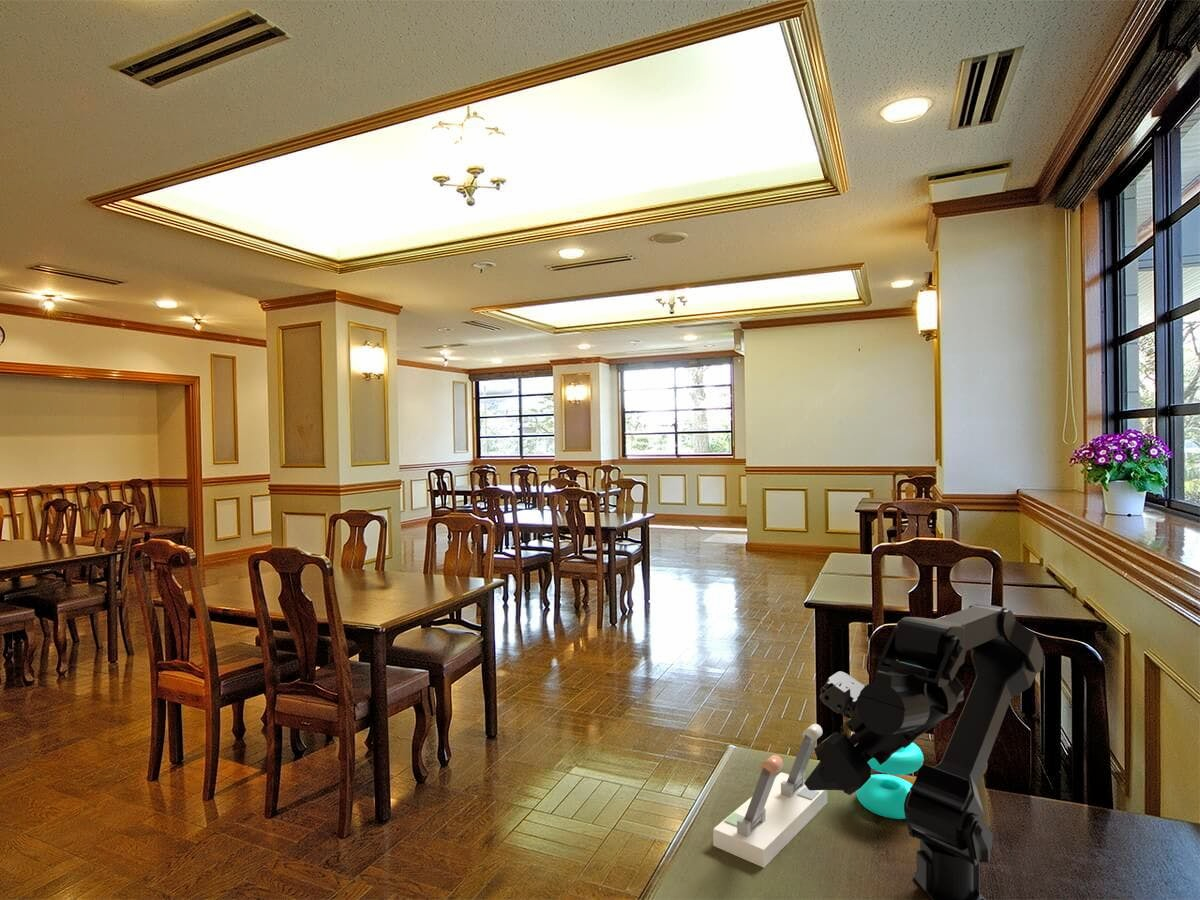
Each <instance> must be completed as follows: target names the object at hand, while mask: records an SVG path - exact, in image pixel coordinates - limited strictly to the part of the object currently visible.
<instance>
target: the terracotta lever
mask: <svg viewBox="0 0 1200 900" xmlns="http://www.w3.org/2000/svg"><path fill="white" fill-rule="evenodd" d="M783 761H784V760H783V759H782V758H781V756H779V755H777V754H772V755H771V756H770V757H768V758H767V759H766V760H765V761H763V762H762V763H761V764H760V771H761V772H760V776H759V777H758V778H759V779H758V781H757V782H756V783H757V784H756V786H755V788H754V791H753V794H752V796H751V797H752V799H751V802H750V804H749V807H748V810H747V812H746V815H745V818H744V819H745V820H747V821H750V822H751V829H752V828H753V827H754V826H755V825H756V824H757V823H758V822H759V821H760V820H761V814H762V812H763V809H764V806H765V804H766V801H767V799H768V796H769V793H770V791H771V788H772V785H773V783H774V780H775V778H776V776H777V775H778V773H779V771H780V770H782V768H783V766H784V762H783Z"/></svg>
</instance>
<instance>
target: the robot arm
mask: <svg viewBox="0 0 1200 900" xmlns="http://www.w3.org/2000/svg"><path fill="white" fill-rule="evenodd" d="M967 651H970V652H971V655H970V658H971V662H972V664H973V665H972V666H973V668H974V671H975V675H976V677H975V679H974V682H973V684H972V687H971V689H970V691H969V693H968V695H967V698H966V700H965V701H966V702H964V703H965V704H964V706H963V709H962V710H961V712H960V716H959V717H958V719H957V723H956V725H955V727H954V730H953V732H952V735H951V737H950V738H949V739H950V740H949V741H948V743H947V746H946V749H945V751H944V753H943V755H942V757H941V760H940V762H939V763H938V764H936V765H935V766H932V765H929V764H926V763H925V764H924V763H923V764H922V766H921V767H920V768H919V769H918V770H917V776H916V778H915V780H914V782H913V783H912V786H911V788H910V791H909V792H908V794H907V796H906V798H905V802H904V813H905V817H906V819H905V820H906V822H905V823H906V826H907V830H908V831H907V832H908V835H909V837H911V838H915V839H917V840H919V849H917V851H916V871H915V872H913V877H914V879H915V881H916V882H917V883H918V884H919V886H921V888H922V889H923V891H924V892H925V893H926V894H927V896H928V897H929V898H930V899H931V900H987V899H986V897H984V896H983V894H982V893H981V892H980V890H981V889H980V888H981V887H980V885H981V884H980V883H981V882H980V875H981V873H980V868H981V866H980V864H981V863H989V862H990V861H991V852H992V848H993V844H994V843H993V839H994V835H993V832H992V831H991V829H990V828H988V827H987V825H986V824H985V823H984V821H983V820H982V818H983V814H984V813H983V809H982V805H981V801H980V797H979V794H978V790H977V788H978V784H979V782H980V779H981V777H982V774H983V771H984V769H985V766H986V763H987V764H988V761H989V758H990V755H991V753H992V750H993V747H994V744H995V743H996V739H997V737H998V734H999V732H1000V728H1001V726H1002V723H1003V721H1004V719H1005V716H1006V713H1007V710H1008V708H1009V705H1010V703H1011V700H1012V698H1014V697H1016V696H1017V695H1019V694H1021V693H1023V692H1025V691H1026V690H1029V689H1030V688H1031V686H1032V684H1033V683H1034V680H1035V679H1036V676H1037V674H1039V673H1040V672H1041V671H1042V669H1043V667H1044V660H1045V659H1044V657H1045V656H1044V651H1043V648H1042V647H1041V644H1040V642H1039V640H1038V638H1037V635H1036V634H1035V633H1034V632H1032V631H1031V630H1030V629H1028V627H1026V626H1024V624H1022V623H1020V621H1018V620H1017V619H1016V617H1015V614H1014V613H1013V611H1012V610H1009V609H1007V608H1006V607H1004V606H997V605H991V604H985V603H978V602H977V603H975V604H974V603H972V604H970V605H969V606H968V607H967V608H965V609H961V610H958V611H956V612H953V613H950V614H947V615H944V616H943V617H942V616H941V617H939V618H927V617H920V616H919V617H918V616H903V617H902V618H901V619H899V621H898V622H897V623H896V624H895V626H894V627H893V629H892V630H891V632H890V634H889V637H888V640H887V642H886V643H885V646H884V648H883V650H882V653H881V655H880V656H879V657H880V658H879V659H878V662H877V664H876V666H875V667H876V672H875V680H874V682H870V683H868V684H866V685H864V684H863V683H862V682H860V681H858V680H857V679H855V678H854V677H853V676H851V675H849V674H848V673H846V672H844V671H842V670H840V671H837V672H835V673H834V674H832V675H831V676H829V677H828V679H827V681H826V683H825V684H824V686H822V687H821V688H820V690H819V693H820V695H819V699H820V701H821V702H822V703H823V704H824V705H825V706H826V707H828V708H829V709H830V710H832V711H833V712H835V713H836V714H841V715H842V716H843V717H845V718H847V719H849V720H847V721H846V722H845V723H844V724H845V726H846V727H847V728H848V729H849V730H850V731H851V732H852V734H851V735H850V736H849V737H848V736H847V734H844V733H841V732H840V733H839V732H838V731H834V732H833V733H832V734H831V735H829V736H828V737H827V738H825V739H824V740H822V741H821V743H819V744H818V745H817V746H814V749H813V750H814V755H816V757H817V758H818V759H819V762H818V764H817V765H816V766H815V767H814V768H813V770H812V772H811V773H810V774H809V775H808V777H807V778H805V780H806V781H805V782H804V784H805V785H806V787H807V788H808V790H827V791H842V792H843V793H845V795H848V796H851V795H852V794H854V793H856V791H857V790H858V789H860V788H861V787H862V786H863V785H864V784H865V783H866V782H867V781H868V780H869V779H870V778H871V775H872V773H871V771H872V768H871V766H870V765H869V764H868V763H867V762H868V761H869V760H870V759H871V758H875V759H876V760H877V761H878V763H879V764H880V765H881V764H882V763H884V762H885V761H887V760H888V759H889V758H890V756H891V755H892V754H894V753H895V752H897V751H898V750H900V749H901V748H903V747H904V748H906V747H907V746H909V745H910V744H911V743H912V742H913V743H914V741H915V740H916V739H917V738H918V737H920V736H922V735H923V734H924V733H926V732H927V731H929V730H930V729H931V728H933V727H935V726H936V725H937V724H939V723H941V722H942V721H944V720H945V719H947V717H949V716H951V715H952V714H953V712H954V711H955V710H956V707H957V704H959V703H961V702H963V701H964V699H965V697H964V691H965V689H966V688H965V687H964V685H963V684H962V683H961V681H960V680H959V679H958V677H957V676H956V675H957V672H958V671H959V668H960V667H961V666H963V664H965V658H966V653H967ZM983 775H984V774H983Z"/></svg>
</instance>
